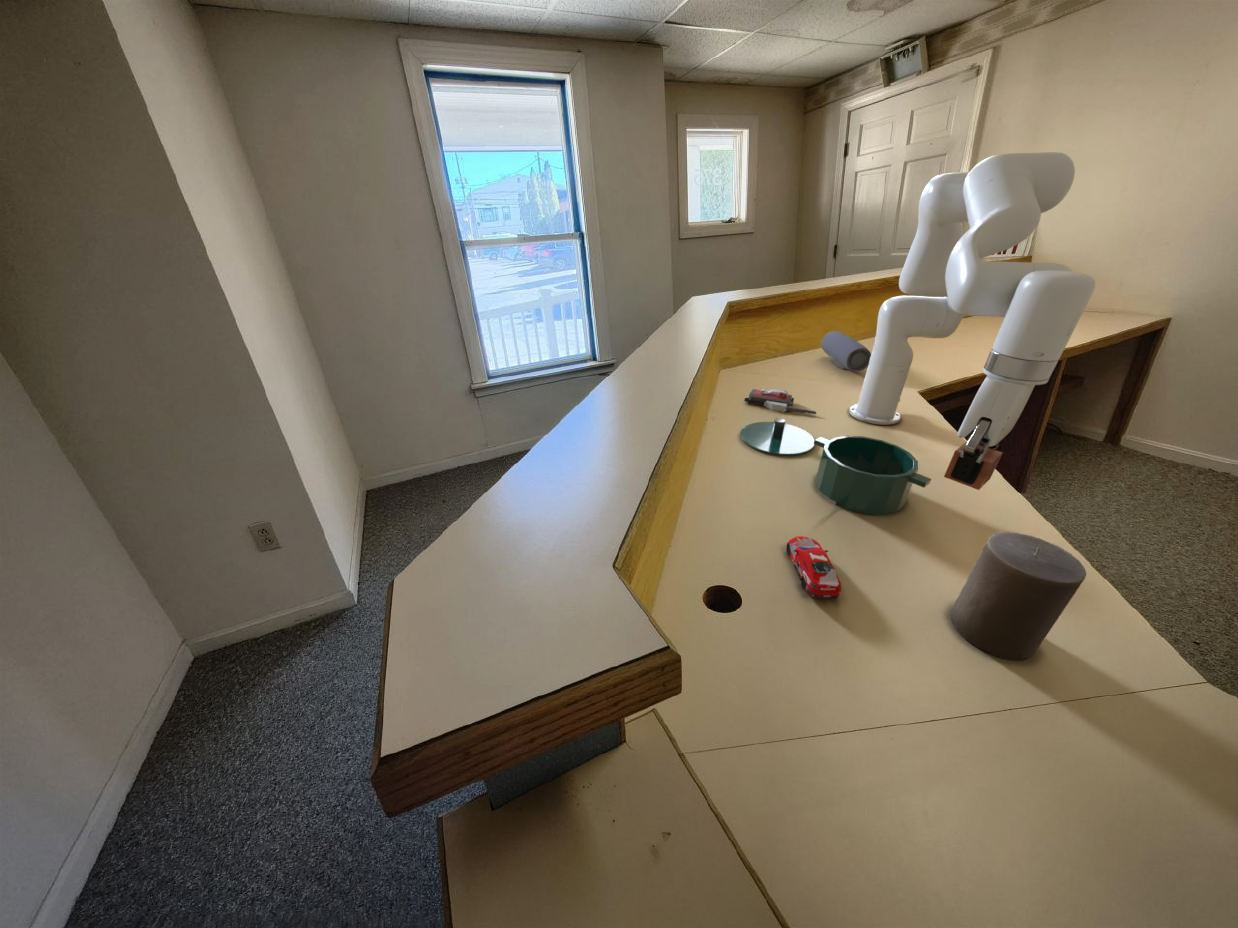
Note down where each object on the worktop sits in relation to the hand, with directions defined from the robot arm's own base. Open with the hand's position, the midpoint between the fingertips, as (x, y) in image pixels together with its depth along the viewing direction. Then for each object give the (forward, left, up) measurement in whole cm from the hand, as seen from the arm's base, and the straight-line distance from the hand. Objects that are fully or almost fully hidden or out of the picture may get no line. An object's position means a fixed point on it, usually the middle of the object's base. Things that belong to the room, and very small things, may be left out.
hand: (968, 473), depth 73 cm
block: (0, 0, -1) cm, 1 cm away
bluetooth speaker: (-80, -62, -14) cm, 102 cm away
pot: (-4, -17, -14) cm, 22 cm away
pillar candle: (+16, +12, -14) cm, 25 cm away
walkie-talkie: (-29, -53, -14) cm, 61 cm away
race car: (+25, -10, -14) cm, 30 cm away
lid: (-10, -41, -13) cm, 44 cm away
